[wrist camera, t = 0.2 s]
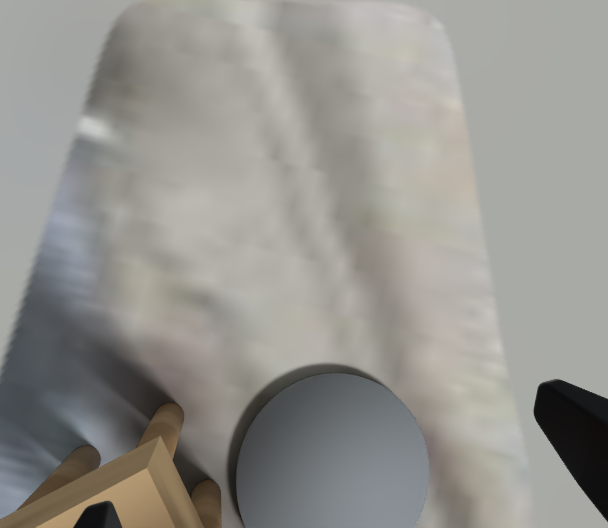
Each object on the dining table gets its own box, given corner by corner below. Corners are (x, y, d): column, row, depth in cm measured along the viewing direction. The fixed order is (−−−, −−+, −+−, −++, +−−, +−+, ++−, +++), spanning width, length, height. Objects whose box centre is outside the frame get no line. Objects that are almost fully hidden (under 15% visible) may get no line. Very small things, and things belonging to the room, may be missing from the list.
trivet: (459, 476, 25) (464, 480, 24) (319, 617, 23) (322, 626, 22) (346, 333, 24) (350, 334, 24) (194, 465, 22) (193, 469, 22)
